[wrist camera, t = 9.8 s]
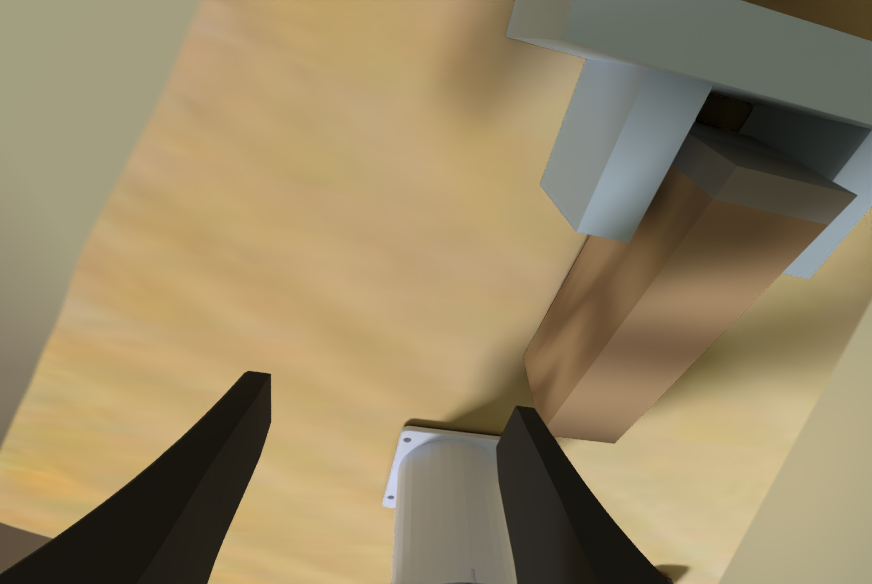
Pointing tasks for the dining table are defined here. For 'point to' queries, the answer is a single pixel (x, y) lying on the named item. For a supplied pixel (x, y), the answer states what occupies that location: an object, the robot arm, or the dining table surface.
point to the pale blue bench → (698, 101)
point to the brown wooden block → (673, 280)
